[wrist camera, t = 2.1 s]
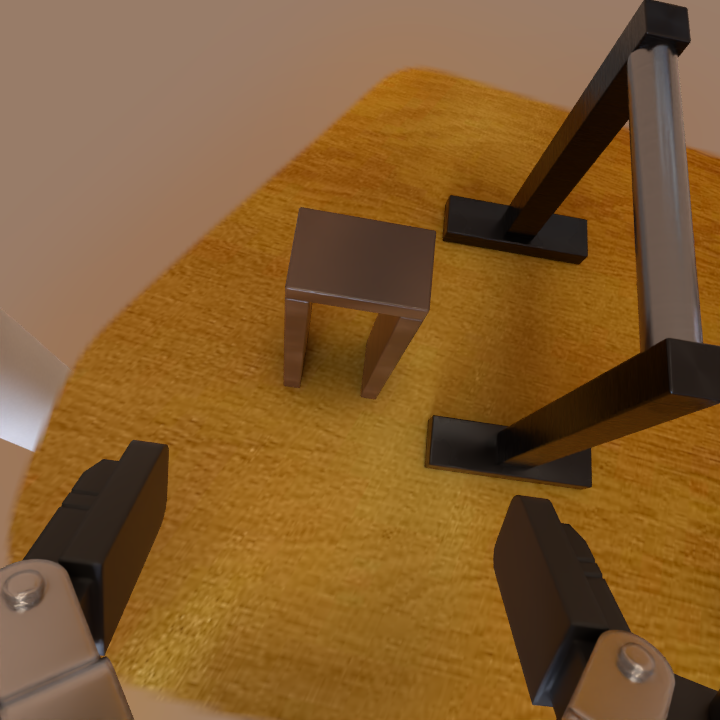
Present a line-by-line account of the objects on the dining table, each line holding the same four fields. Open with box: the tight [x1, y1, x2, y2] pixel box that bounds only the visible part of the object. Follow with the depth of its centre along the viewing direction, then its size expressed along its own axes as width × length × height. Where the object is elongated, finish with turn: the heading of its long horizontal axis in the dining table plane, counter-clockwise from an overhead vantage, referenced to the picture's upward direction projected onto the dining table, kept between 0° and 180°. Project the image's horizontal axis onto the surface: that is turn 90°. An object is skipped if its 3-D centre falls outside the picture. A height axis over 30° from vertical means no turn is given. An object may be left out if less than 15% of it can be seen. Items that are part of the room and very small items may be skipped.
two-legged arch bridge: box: [284, 207, 436, 399], centre depth 24 cm, size 5×3×11 cm, turn 83°
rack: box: [425, 0, 720, 489], centre depth 24 cm, size 8×15×14 cm, turn 173°
